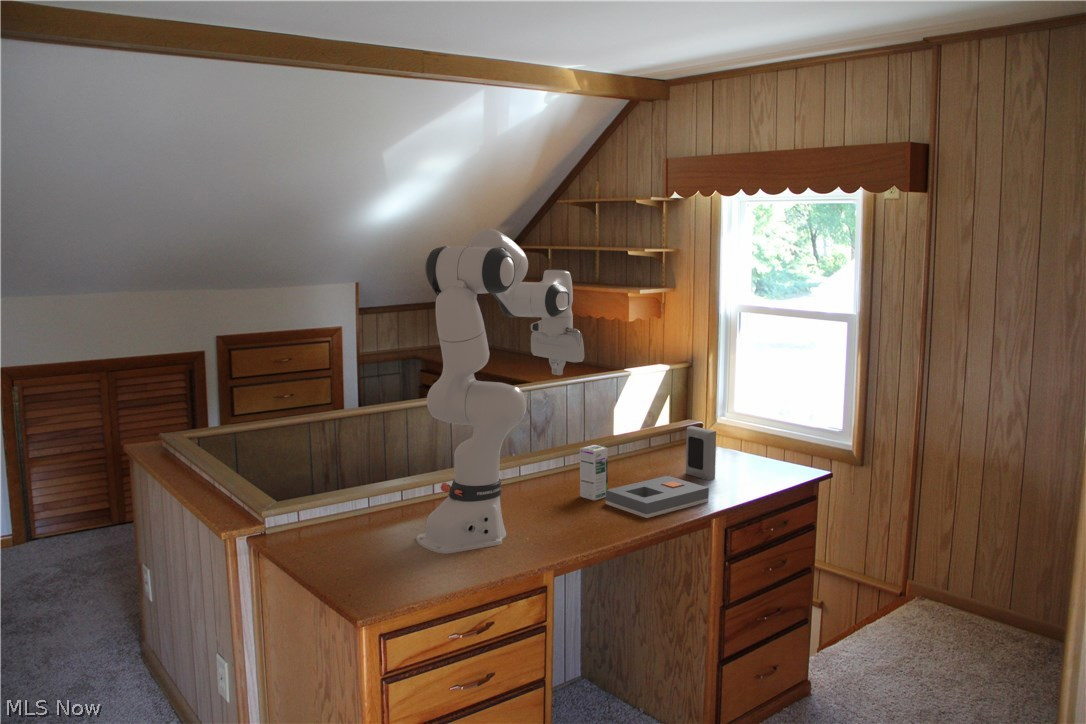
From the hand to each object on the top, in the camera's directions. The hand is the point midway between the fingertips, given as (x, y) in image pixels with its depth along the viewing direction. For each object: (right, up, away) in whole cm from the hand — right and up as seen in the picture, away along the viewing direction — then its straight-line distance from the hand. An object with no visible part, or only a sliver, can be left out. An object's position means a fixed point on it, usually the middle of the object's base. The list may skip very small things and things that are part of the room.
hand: (557, 374), depth 261 cm
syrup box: (+10, -35, -2) cm, 36 cm away
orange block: (+32, -33, -4) cm, 47 cm away
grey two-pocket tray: (+28, -36, -8) cm, 46 cm away
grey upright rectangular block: (+44, -32, +19) cm, 57 cm away
